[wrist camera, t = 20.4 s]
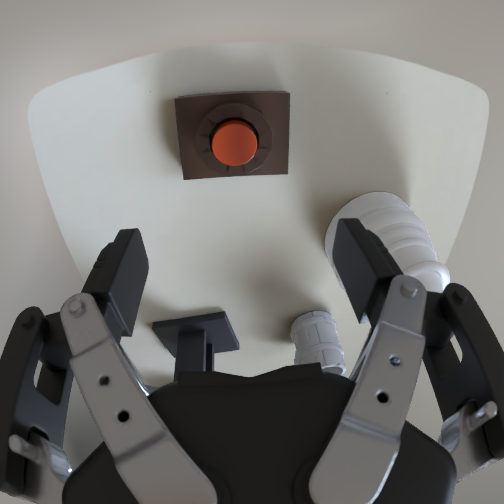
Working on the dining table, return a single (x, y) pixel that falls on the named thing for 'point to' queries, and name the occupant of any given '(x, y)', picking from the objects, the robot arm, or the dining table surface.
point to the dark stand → (196, 340)
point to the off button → (234, 143)
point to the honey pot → (394, 237)
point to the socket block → (226, 109)
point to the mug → (318, 342)
